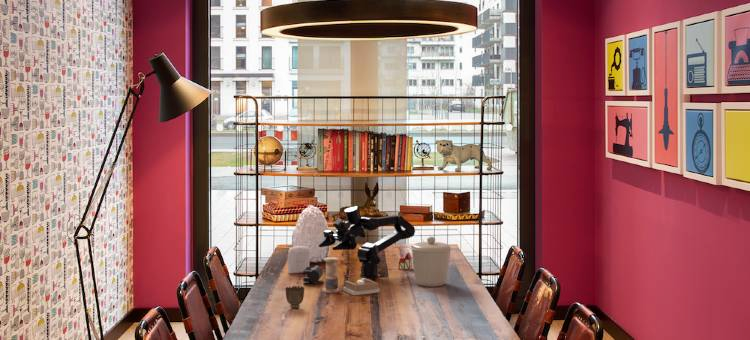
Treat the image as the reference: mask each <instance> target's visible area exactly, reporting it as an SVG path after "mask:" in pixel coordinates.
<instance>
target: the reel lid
mask: <svg viewBox="0 0 750 340" xmlns="http://www.w3.org/2000/svg"><path fill="white" fill-rule="evenodd" d="M364 279H367V278H365V277H362V278H361V279H357V280H356V284H357V285H359V284H364Z"/></svg>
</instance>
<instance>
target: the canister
mask: <svg viewBox="0 0 750 340" xmlns="http://www.w3.org/2000/svg"><path fill="white" fill-rule="evenodd" d="M410 249H411V257H412V268H413V274H414V280H415V282H416V284H417V285H419V286H421V287H427V288H434V287H435V288H437V287H442V286H444V285H445V283H447V278H448V274H449V266H450V265H449V264H450V258H451V251H452V249H453V247H452V246H450V245H449V244H447V243H445V242H439V241H436V238H435V237H434V236H429V237H427V239H426V241H421V242H416V243H414V244H413V245H411V246H410Z"/></svg>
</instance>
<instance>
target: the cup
mask: <svg viewBox="0 0 750 340" xmlns="http://www.w3.org/2000/svg"><path fill="white" fill-rule="evenodd" d="M304 296H305V287H304V286H303V285H301V286H299V285H297V286H296V285H292V286H289V287H288V286H286V287H285V297H286V301H287V303H288V304H289V307H290V308H291V309H294V310H297V309H299V308H300V307H301V306H300V305H301V303H302V302H303V300H304Z"/></svg>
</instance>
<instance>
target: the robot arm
mask: <svg viewBox="0 0 750 340" xmlns="http://www.w3.org/2000/svg"><path fill="white" fill-rule="evenodd" d="M344 214H345V218H346V220H345V219H344V220H343V219H341V218H336V220H335V221H334V222H333V223H332V226H333V227H334V228H335V233H336V234H335V233H334V231H332V230H330V229H329V230H326V231H324V232H323V233H324V239H323V240H322V242H321V243H320V244H319V247H325V246H330V247H331V246H332V245H334V244H335V245H334V246H332V250H333V251H340V250H341V251H342V250H344V251H345V250H355V249H356V248H357V246H358V243H357V239H356V238H358V237H359V238H363V239H365V238H366V232H365V231H371V232H372V231H375V230H377V229H378V228H379V227H383V226H384V227H385V226H390V225H393V227H394V231H392V232H391V233H389V234H388V235H386V236H384V237H383V238H381V239H378V241H376V242H374V243H371V242H365V243H364V244H362V245H360V246H359V248H358V249H357V258H358V261H359V263H361V266H360V275H359V276H361V277H362V278H366V279H370V278H379V275H378V265H379V264H380V262H381V258H380V257H379V255H380V253H381V252H383V251H384V250H386V249H387V248H389V247H391V246H393V245H394V244H396V243H397V242H399V241H401V240H407V239H410V238H412V237H414V236H415V233H416V229H415V226H414V225H412V224H411V223H410V222H409V221H408V220H407V219H405V218H404V217H403V216H402V215H400V214H391V215H385V216H381V217H380V216H379V217H372V216H371V217H370V216H361V212H360V207H359V206H357V205H355V206H351V207H347V208H346V209H344ZM336 242H338V243H336Z"/></svg>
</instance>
